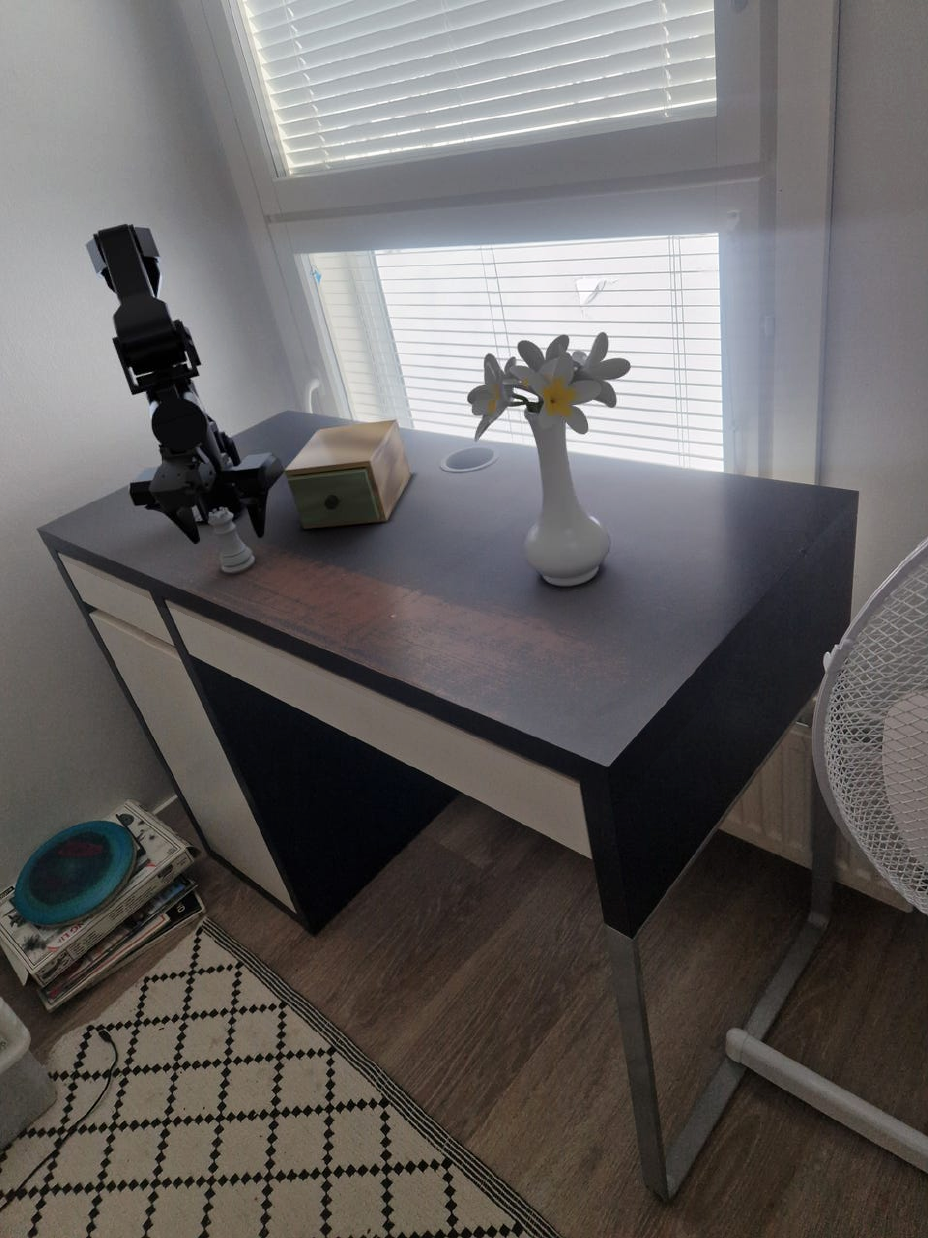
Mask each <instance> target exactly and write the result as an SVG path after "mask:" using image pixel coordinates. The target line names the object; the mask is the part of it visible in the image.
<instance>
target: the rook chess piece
mask: <svg viewBox="0 0 928 1238" xmlns="http://www.w3.org/2000/svg"><path fill="white" fill-rule="evenodd" d="M219 509H220V511H218V512H217V510H216V509H214V510H212V511H213V514H212V512H209V515H208V516H209V520H208V522H207V524H209V525H210V526H212V527H213V529H214V531H213V534H215V535H216V537H217V540H218V543H219V548H220V552H219V564H220V565H221V570H222V571H223V572H225V573H227V574H232V575H234V574H239V573H243V572H245V571H247V570H249V569H250V568H251V567H252V566H253V565H254V563H255V560H256V557H255V556H254V555H253V551H252V550H251V548H250V547H248V546H247V545H246V544H245V543H244V542H243V541H242V540H241V538H240V536H239V534H238V533H237V530H236V527H237V526H236V524H234V523H233V520H232V518H233V514H232V513H231V512H229V511H228V508H227V507H225V508H223V507H220V508H219ZM224 509H225V510H224Z"/></svg>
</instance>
